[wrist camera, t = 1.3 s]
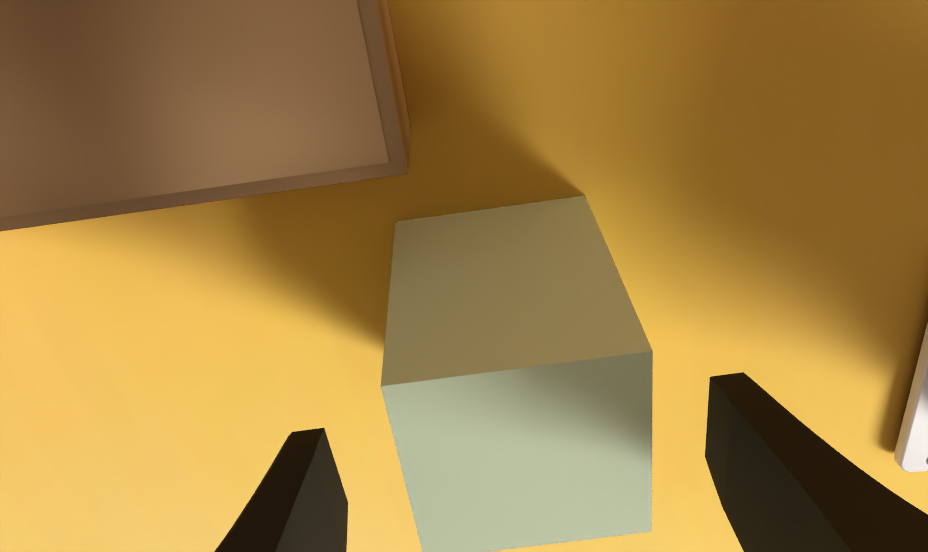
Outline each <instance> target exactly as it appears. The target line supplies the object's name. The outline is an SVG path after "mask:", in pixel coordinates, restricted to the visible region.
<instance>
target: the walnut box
mask: <svg viewBox="0 0 928 552" xmlns="http://www.w3.org/2000/svg"><path fill="white" fill-rule="evenodd" d="M410 128H411V126H410V121H409V115H408V110H407V104H406V98H405V93H404V87H403V82H402V76H401V71H400V65H399V59H398V54H397V48H396V43H395V37H394V32H393V26H392V20H391V15H390V9H389V4H388V0H0V231H6V230H13V229H21V228H28V227H35V226H42V225H49V224H56V223H63V222H70V221H77V220H84V219H91V218H98V217H106V216H113V215H120V214H127V213H134V212H141V211H148V210H155V209H162V208H169V207H176V206H183V205H191V204H198V203H205V202H212V201H219V200H226V199H233V198H240V197H247V196H254V195H261V194H268V193H276V192H283V191H290V190H297V189H304V188H311V187H318V186H325V185H332V184H339V183H346V182H353V181H361V180H368V179H375V178H382V177H389V176H396V175H403V174H408V161H409V144H410Z"/></svg>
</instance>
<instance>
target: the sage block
mask: <svg viewBox="0 0 928 552" xmlns="http://www.w3.org/2000/svg"><path fill="white" fill-rule="evenodd" d="M652 359H653V351H652V349H651V346H650V344H649V342H648V339H647V337H646V335H645V332H644V330H643V328H642V326H641V323H640V321H639V319H638V316H637V314H636V312H635V309H634V307H633V305H632V302H631V300H630V298H629V296H628V293H627V291H626V289H625V286H624V284H623V282H622V279H621V277H620V275H619V273H618V270H617V268H616V266H615V263H614V261H613V259H612V256H611V254H610V252H609V249H608V247H607V245H606V243H605V240H604V238H603V236H602V233H601V231H600V229H599V226H598V224H597V222H596V220H595V217H594V215H593V213H592V210H591V208H590V206H589V203H588V201H587V199H586V197H585V195H584V196H576V197H569V198H562V199H555V200H547V201H540V202H533V203H526V204H519V205H511V206H504V207H497V208H490V209H482V210H475V211H468V212H461V213H454V214H446V215H439V216H432V217H425V218H418V219H410V220H403V221H396V222H395V232H394V243H393V254H392V266H391V277H390V288H389V299H388V311H387V322H386V333H385V344H384V356H383V367H382V378H381V389H382V393H383V397H384V401H385V405H386V409H387V413H388V417H389V421H390V425H391V429H392V433H393V437H394V441H395V445H396V449H397V453H398V457H399V460H400V464H401V468H402V472H403V476H404V480H405V484H406V488H407V492H408V496H409V500H410V504H411V508H412V512H413V516H414V520H415V524H416V528H417V532H418V536H419V540H420V544H421V547H422V551H423V552H489V551H497V550H506V549H514V548H522V547H530V546H539V545H547V544H555V543H563V542H571V541H580V540H588V539H596V538H604V537H612V536H621V535H629V534H637V533H645V532H651V508H652Z"/></svg>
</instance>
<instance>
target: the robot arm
mask: <svg viewBox="0 0 928 552" xmlns="http://www.w3.org/2000/svg"><path fill="white" fill-rule="evenodd" d="M705 458H706V461H707V464H708V467H709V470H710V473H711V476H712V479H713V482H714V485H715V487H716V490H717V493H718V496H719V499H720V501H721V504H722V507H723V509H724V511H725V513H726V515H727V518H728V520H729V522H730V524H731V526H732V528H733V530H734V532H735V534H736V536H737V538H738V540H739V542H740V544H741V547H742V549H743V551H744V552H928V515H927V514H926V513H924V512H923V511H921V510H919V509H918V508H916V507H915V506H913V505H911V504H910V503H908V502H907V501H905V500H904V499H902V498H901V497H899V496H898V495H896V494H895V493H893V492H892V491H890V490H889V489H887V488H886V487H885V486H883V485H882V484H880V483H879V482H878V481H876V480H875V479H873V478H872V477H871V476H869V475H868V474H867V473H865V472H864V471H862V470H861V469H860V468H858V467H857V466H856V465H854V464H853V463H852V462H850V461H849V460H848V459H847V458H845V457H844V456H843V455H841V454H840V453H839V452H838V451H836V450H835V449H834V448H833V447H831V446H830V445H829V444H828V443H826V442H825V441H824V440H823V439H821V438H820V437H819V436H818V435H816V434H815V433H814V432H813V431H811V430H810V429H809V428H808V427H807V426H805V425H804V424H803V423H802V422H801V421H799V420H798V419H797V418H796V417H795V416H794V415H792V414H791V413H790V412H789V411H788V410H786V409H785V408H784V407H783V406H782V405H781V404H780V403H778V402H777V401H776V400H775V399H774V398H773V397H771V396H770V395H769V394H768V393H767V392H766V391H765V390H763V389H762V388H761V387H760V386H759V385H758V384H757V383H755V382H754V381H753V380H752V379H751V378H750V377H748V376H747V375H746V374H745V373H735V374H728V375H720V376H713V377H710V385H709V401H708V417H707V433H706V449H705ZM894 459H895V461H896V462H897V463H898V465H899V466H900V467H901V468H902V470H904V471H907V472H918V471H926V470H928V323H927V327H926V331H925V335H924V339H923V343H922V347H921V351H920V355H919V359H918V362H917V366H916V370H915V374H914V378H913V382H912V386H911V390H910V394H909V398H908V402H907V406H906V410H905V414H904V418H903V422H902V425H901V429H900V433H899V437H898V441H897V445H896V449H895V453H894ZM347 518H348V501H347V498H346V495H345V492H344V489H343V486H342V483H341V479H340V476H339V473H338V470H337V467H336V464H335V461H334V458H333V454H332V451H331V448H330V445H329V442H328V439H327V436H326V432H325V429H324V428H319V429H312V430H304V431H297V432H292V433H291V434H290V435H289V436H288V438H287V439H286V441H285V443H284V445H283V446H282V448H281V450H280V451H279V453H278V455H277V456H276V458H275V460H274V461H273V463H272V465H271V467H270V468H269V470H268V471H267V473H266V475H265V476H264V478H263V480H262V481H261V483H260V485H259V486H258V488H257V489H256V491H255V493H254V494H253V496H252V497H251V499H250V500H249V502H248V503H247V505H246V506H245V508H244V510H243V511H242V513H241V514H240V516H239V517H238V519H237V520H236V522H235V523H234V525H233V526H232V528H231V529H230V531H229V532H228V534H227V535H226V536H225V538H224V539H223V541H222V542H221V543H220V545H219V546H218V548H217V549H216V550H215V552H346V546H347Z"/></svg>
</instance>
